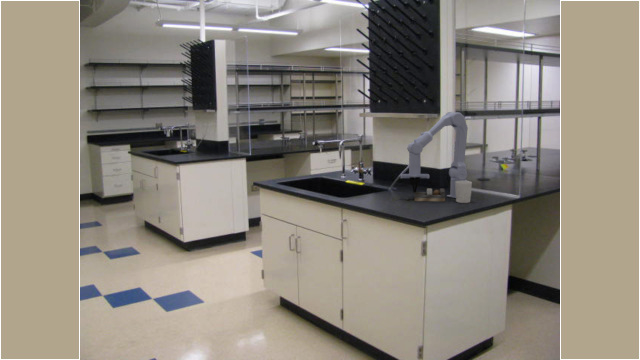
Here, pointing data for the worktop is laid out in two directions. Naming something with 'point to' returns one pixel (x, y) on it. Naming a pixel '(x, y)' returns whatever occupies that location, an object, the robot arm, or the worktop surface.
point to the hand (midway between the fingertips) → (414, 192)
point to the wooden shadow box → (430, 196)
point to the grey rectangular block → (429, 191)
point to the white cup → (463, 191)
